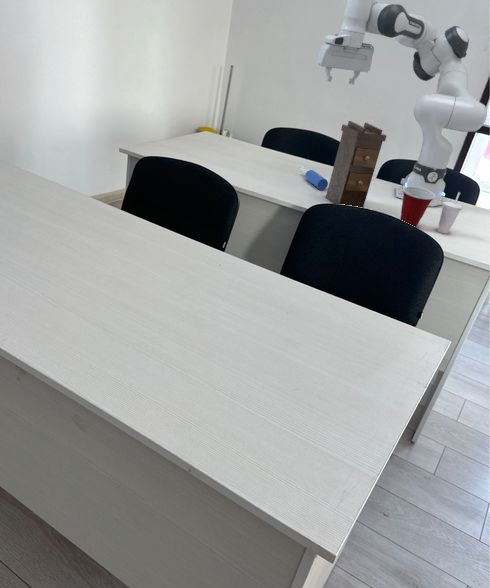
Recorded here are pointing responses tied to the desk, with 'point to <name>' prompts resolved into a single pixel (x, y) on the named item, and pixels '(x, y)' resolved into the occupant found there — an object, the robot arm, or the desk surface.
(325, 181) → the bottle
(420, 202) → the plastic cup
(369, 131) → the bedside cabinet
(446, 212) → the smoothie
